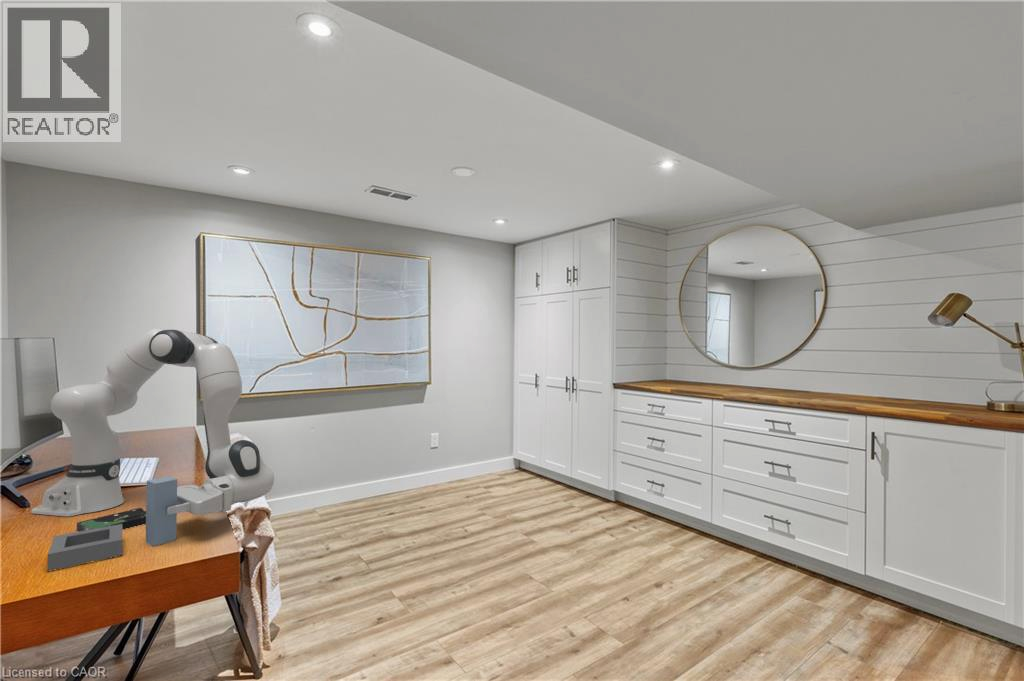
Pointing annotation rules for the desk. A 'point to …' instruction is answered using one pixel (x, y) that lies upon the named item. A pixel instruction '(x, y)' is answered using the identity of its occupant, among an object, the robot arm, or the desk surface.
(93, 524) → the disk drive
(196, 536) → the desk surface
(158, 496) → the blue block
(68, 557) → the well block
